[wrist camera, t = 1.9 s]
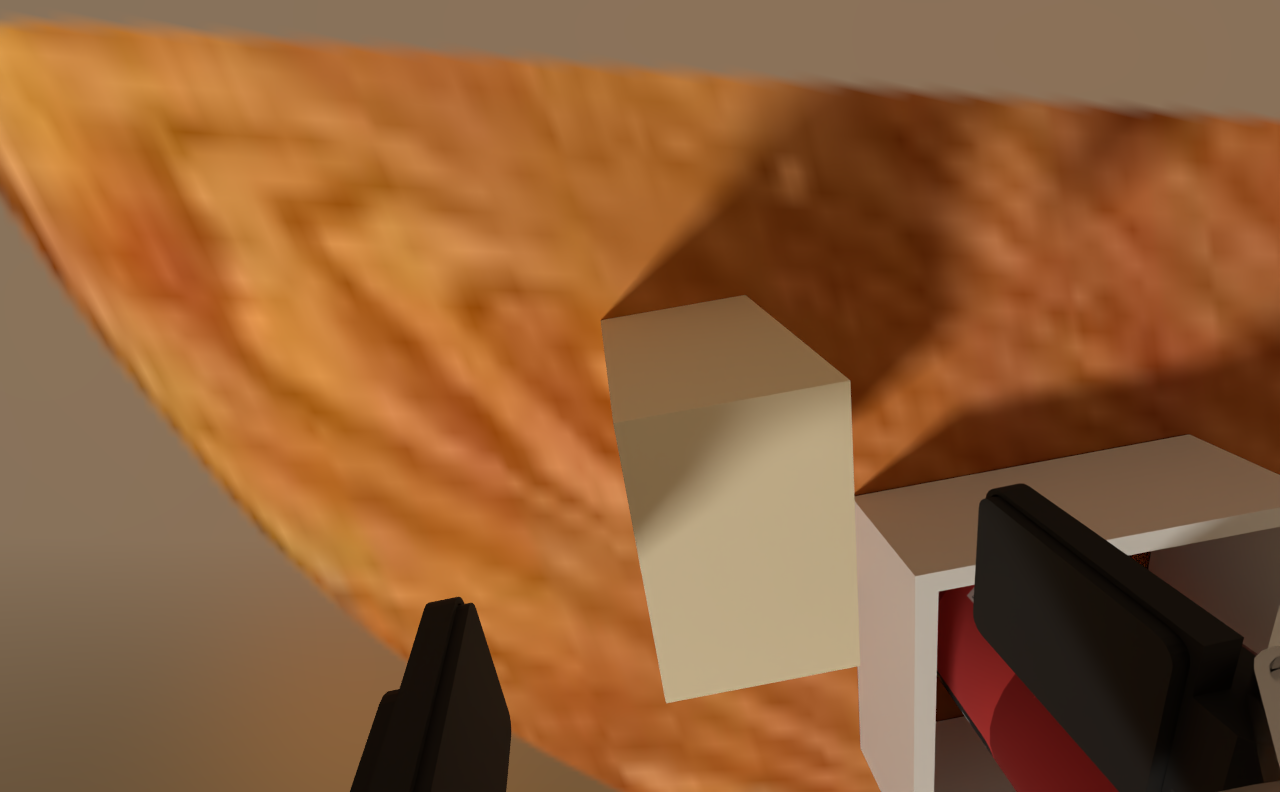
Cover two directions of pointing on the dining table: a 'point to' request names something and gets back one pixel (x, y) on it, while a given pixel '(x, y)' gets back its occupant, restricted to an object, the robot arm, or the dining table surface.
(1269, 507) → the box
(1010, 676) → the canned food
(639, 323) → the plain beige cuboid
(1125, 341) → the dining table surface
